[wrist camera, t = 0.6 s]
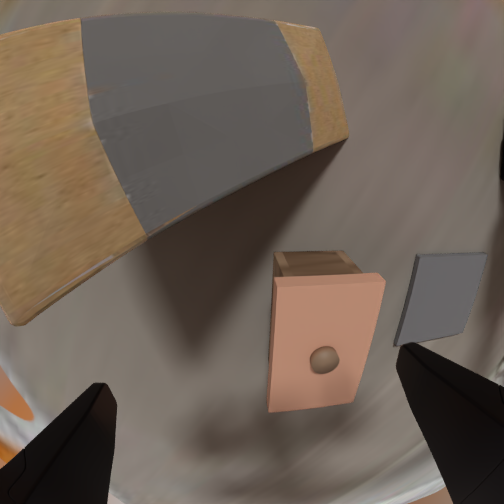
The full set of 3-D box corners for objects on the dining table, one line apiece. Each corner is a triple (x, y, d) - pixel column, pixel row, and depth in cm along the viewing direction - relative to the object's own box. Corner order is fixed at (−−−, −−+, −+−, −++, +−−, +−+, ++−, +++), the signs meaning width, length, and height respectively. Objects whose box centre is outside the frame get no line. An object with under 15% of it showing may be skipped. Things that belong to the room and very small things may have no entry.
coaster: (484, 252, 24) (487, 254, 24) (459, 329, 28) (462, 332, 27) (416, 254, 24) (419, 257, 23) (393, 342, 27) (396, 345, 26)
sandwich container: (352, 141, 20) (533, 184, 6) (136, 203, 20) (15, 338, 6) (319, 25, 17) (457, -82, 3) (99, 88, 17) (-73, 58, 3)
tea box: (273, 252, 22) (285, 281, 18) (342, 250, 23) (367, 277, 19) (268, 360, 26) (275, 397, 22) (326, 355, 27) (340, 390, 22)
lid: (271, 271, 19) (279, 293, 16) (372, 267, 19) (391, 286, 17) (265, 393, 23) (269, 419, 20) (345, 384, 23) (355, 408, 21)
